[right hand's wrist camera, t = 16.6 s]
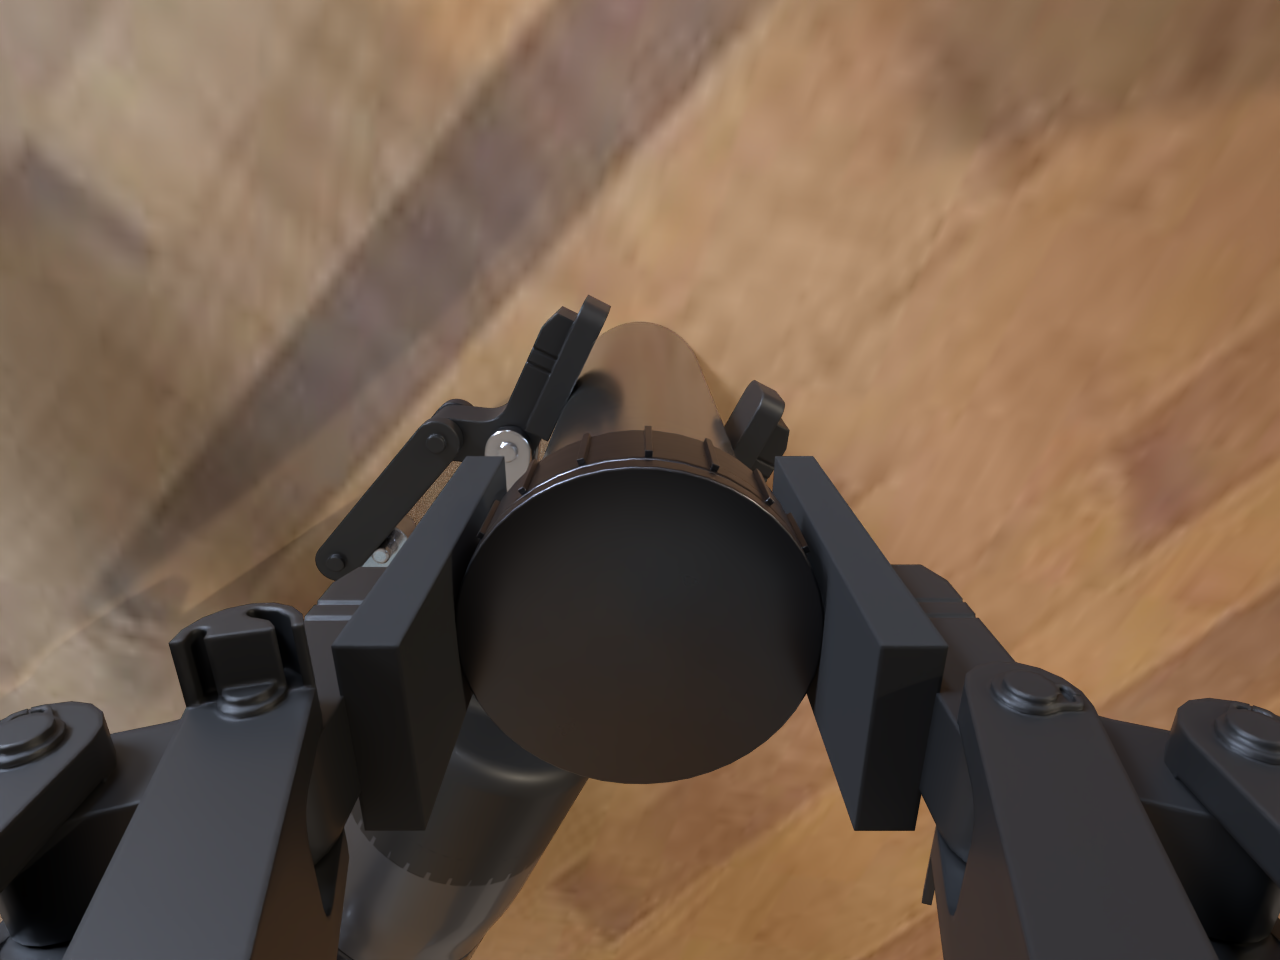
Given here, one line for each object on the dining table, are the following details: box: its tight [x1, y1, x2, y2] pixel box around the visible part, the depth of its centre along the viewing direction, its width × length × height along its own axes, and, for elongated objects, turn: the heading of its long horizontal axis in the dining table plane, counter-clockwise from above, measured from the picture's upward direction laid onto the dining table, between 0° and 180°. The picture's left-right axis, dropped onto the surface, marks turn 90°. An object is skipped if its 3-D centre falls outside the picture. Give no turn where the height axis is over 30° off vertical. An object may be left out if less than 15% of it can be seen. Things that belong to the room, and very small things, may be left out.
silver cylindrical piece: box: [543, 322, 736, 458], centre depth 18 cm, size 5×5×16 cm
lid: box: [455, 426, 824, 784], centre depth 11 cm, size 6×6×2 cm
